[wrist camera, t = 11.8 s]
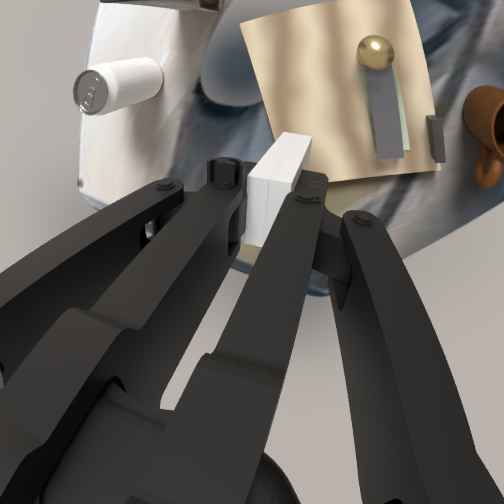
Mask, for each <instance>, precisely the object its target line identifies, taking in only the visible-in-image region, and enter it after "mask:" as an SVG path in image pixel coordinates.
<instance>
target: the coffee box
mask: <svg viewBox="0 0 504 504" xmlns="http://www.w3.org/2000/svg"><path fill="white" fill-rule="evenodd" d="M223 1H224V0H100V2H102V3H120V4H133V5H144V6H154V7H162V8H170V9H176V10H186V11H201V12H214V13H220V12H221V10H222V6H223Z"/></svg>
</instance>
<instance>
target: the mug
mask: <svg viewBox="0 0 504 504" xmlns="http://www.w3.org/2000/svg"><path fill="white" fill-rule="evenodd" d="M463 112H464V119H465V123H466V125H467V127H468V129H469V130H470V132H471V133H472V134H473V135H474V136H475V137H476V138H477V139H478V140H479V141H481V152H480V155H479V157H478V160H477V163H476V167H475V179H476V182H477V184H478V185H479V186H480V187H481V188H482V189H491V188H493V187H494V186H495V184H496V183H497V182H498V180H499V179H500V176H501V173H502V170H503V166H504V90H503V89H500V88H496V87H493V86H480V87H477V88H475V89H473V90H472V91H471V92H470V93H469V94H468V96H467V98H466V100H465V103H464V110H463Z"/></svg>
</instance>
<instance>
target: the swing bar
mask: <svg viewBox="0 0 504 504" xmlns="http://www.w3.org/2000/svg"><path fill="white" fill-rule="evenodd" d="M357 56H358V59H359V60H360V62H361V63H362V64H363V68H364V73H365V79H366V84H367V89H368V95H369V101H370V107H371V114H372V120H373V127H374V134H375V142H376V150H377V156H378V159H379V160H381V159H396V158H404V150H403V139H402V129H401V121H400V113H399V105H398V98H397V92H396V85H395V79H394V74H393V68H392V62H393V60H394V49H393V47H392V45H391V43H390V42H389V41H388V40H387V39H385V38H383V37H381V36H378V35H370V36H367V37H365V38H363V39H362V40H361V41H360V43H359V44H358V46H357Z"/></svg>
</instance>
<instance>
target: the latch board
mask: <svg viewBox="0 0 504 504" xmlns="http://www.w3.org/2000/svg"><path fill="white" fill-rule="evenodd" d="M240 28H241V31H242V34H243V37H244V39H245V43H246V46H247V49H248V52H249V55H250V58H251V62H252V65H253V68H254V71H255V74H256V78H257V81H258V84H259V88H260V91H261V94H262V98H263V101H264V104H265V108H266V111H267V115H268V118H269V121H270V125H271V128H272V132H273V136H274V139H275V142H276V140H277V139H278V138H279V137H280V136H281V134H282V133H283V132H288V133H295V134H301V135H307V136H312V144H311V152H310V159H309V167H308V171H314V172H319V173H324V174H326V176H327V177H328V178H329V181H328V182H334V181H342V180H350V179H358V178H366V177H375V176H384V175H394V174H404V173H414V172H425V171H437V170H440V163H446V159H445V146H444V136H443V126H442V120H441V119H440V118H439V117H437V116H436V115H435V111H434V104H433V98H432V91H431V86H430V80H429V75H428V70H427V65H426V60H425V56H424V51H423V47H422V43H421V39H420V35H419V31H418V27H417V24H416V20H415V16H414V13H413V10H412V6H411V3H410V0H337V1H331V2H326V3H320V4H315V5H310V6H305V7H300V8H296V9H291V10H287V11H284V12H279V13H276V14H271V15H268V16H264V17H261V18H257V19H254V20H250V21H247V22H244V23H241V24H240ZM370 35H378V36H381V37H383V38H385V39H387V40H388V41H389V42H390V43H391V45H392V47H393V49H394V60H393V62H392V68H393V74H394V79H395V85H396V92H397V98H398V105H399V113H400V121H401V129H402V139H403V150H404V158H396V159H381V160H379V159H378V156H377V150H376V142H375V134H374V127H373V120H372V114H371V107H370V101H369V95H368V89H367V84H366V79H365V73H364V68H363V64H362V63H361V62H360V60H359V59H358V56H357V46H358V44H359V43H360V41H361V40H362V39H363V38H365V37H367V36H370Z"/></svg>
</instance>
